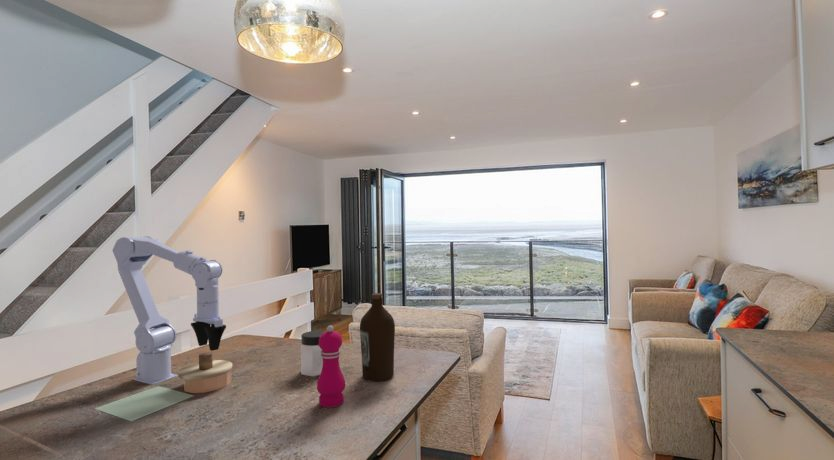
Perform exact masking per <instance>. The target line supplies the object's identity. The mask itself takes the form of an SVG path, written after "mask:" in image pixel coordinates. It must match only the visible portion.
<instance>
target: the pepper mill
mask: <svg viewBox="0 0 834 460" xmlns="http://www.w3.org/2000/svg"><path fill="white" fill-rule="evenodd" d="M334 329H335V328H334V326H333V325H332V324H331V325H328V326H327V327H326V331H325V333H323V334H322V335H321V336H320V338H319V347H320V348H321V349H322V351H321V357H322V358H323V367H322V371H321V374H320V375H318V376H319V377H318V379H317V383H316V385H317V386H316V391H317V392H318V394H319V396H318V404H319V405H320V406H321V407H322V408H336V407H339V406H340V405H342V404H343V403H344V401H345V400H344V399H345V394H344V393H343V392H344V390H345V388H346V379H345V376H344V374H343V372H342V370H341V366H340V359H339V358H340V356H341V349H340V348H341V346H342V344H343V338H342V337H343V336H342V335H341V334H340V333H339V332H337V331H335V330H334Z"/></svg>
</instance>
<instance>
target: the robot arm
mask: <svg viewBox="0 0 834 460" xmlns="http://www.w3.org/2000/svg"><path fill="white" fill-rule="evenodd" d="M111 252H113V255H114V258H115V260H116V263H117V271H118V274H119V276H120V279H121V281H122V283H123V286H124V288H125V289H124V290H125V291H126V293H127V294H126V295H127V296H128V299H129V301H130V304H131V306H132V309H133V311H134V313H135V316H136V317H137V320H138V321H137V322H138V323H139V324H138V325H137V326H136V328H135V329H134V331H133V334H134V336H135V346H136V348H137V350H138V351H139V353H138V354H137V355H136V359H135V361H136V377H135V378H133V380H134V381H136V382H140V383H143V384H148V385H155V384H158V383H160V382H164V381H167V380H170V379H172V378H176V377H178V374H176V373H172V356H171V355H172V353H171V352H172V349H171V348H172V347H173V343H174V342H175V341H176V339H177V332H176V331H177V330H176V329H175V327H174V326H173V325H171V323H170V321H169V319H167V318H165V317H163V316H161V315H160V312H159V311H158V308H157V305H156V303H155V300H154V298H153V295H152V293H151V291H150V288H149V286H148V284H147V281H146V279H145V276H144V274H143V271H142V269H143V267H144V265H145V264H147V262H148V261H149V260H150V259H151V258H152V257H153V256H155V257H158V258H161V259H164V260H165V261H169V262H171V263H173V267H174V268H175V269H177V270H179V271H181V272H183V273H186V274H188V275H191V277H192V278H193V280H194V283H195V284H194V285H195V288H196V313H194V316H193V318H192V322H191V323H190V326H191V327H192V329H193V331H194V334H195V336H196V340H197V344H198V346H199V347H202V346H207V345H208V347H209V350H210V352H213V351H218V350H219V349H220V346H221V339H222V337H223V334H224V332H225V330H226V328H227V325H225V324H224V323H223V322H224V319H222V318H221V316H220V312H219V310H220V309H219V307H220V305H219V278H220V277H221V276H222V274H223V267H222V264H221V263H220V262H218V261H217V260H216V259H210V260H207V258H206V257H204V256H201V257H200V256H199V255H197V254H194V251H192V250H182V251H178V250H176V249H173V248H172V247H170V246H168V245H166V244H164V243H163V242H160V241H159V240H158V239H157V238H153V237H152V236H149V235H148V236H139V237H137V236H136V237H125V236H123V237H120V238H118V239H117V240H116V241H115V244H114V246H113V248H112V251H111Z"/></svg>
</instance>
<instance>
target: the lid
mask: <svg viewBox="0 0 834 460" xmlns="http://www.w3.org/2000/svg"><path fill="white" fill-rule="evenodd" d="M232 369H233V362H231V361H229V360H223V359H214V360H213V352H212V351H210V352H209V351H208V352H207V351H206V352H201V353H200V354H198V362H196V363H192V364H189V365H186V366H184V367H182V368H180V369H179V370H178V371H177V375H178V376H177V377H178V378H179V379H182V380H184V379H185V380H200V379H207V378H212V377H216V376H219V375H222V374H225V373H227V372H229V371H230V370H231V371H232Z"/></svg>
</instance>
